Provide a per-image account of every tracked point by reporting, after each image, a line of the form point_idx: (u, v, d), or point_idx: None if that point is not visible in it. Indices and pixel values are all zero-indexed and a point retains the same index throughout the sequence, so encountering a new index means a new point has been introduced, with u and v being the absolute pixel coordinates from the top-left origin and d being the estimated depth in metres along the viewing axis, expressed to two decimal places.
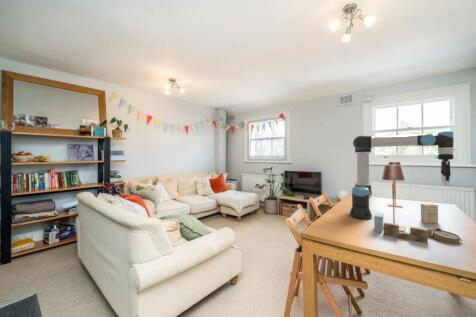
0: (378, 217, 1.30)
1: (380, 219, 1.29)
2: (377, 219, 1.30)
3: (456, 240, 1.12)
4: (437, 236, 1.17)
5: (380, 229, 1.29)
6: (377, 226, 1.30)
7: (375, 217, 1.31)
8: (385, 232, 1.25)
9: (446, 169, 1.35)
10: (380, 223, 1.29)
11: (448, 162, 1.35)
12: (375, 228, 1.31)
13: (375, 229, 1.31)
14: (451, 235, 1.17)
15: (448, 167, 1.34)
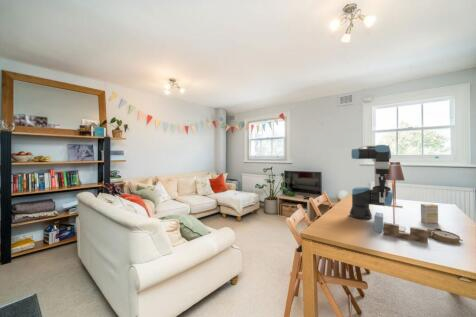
0: (378, 217, 1.30)
1: (380, 219, 1.29)
2: (377, 219, 1.30)
3: (456, 239, 1.12)
4: (436, 236, 1.17)
5: (380, 229, 1.29)
6: (377, 226, 1.30)
7: (375, 217, 1.31)
8: (385, 232, 1.25)
9: (380, 185, 1.27)
10: (380, 223, 1.29)
11: (383, 178, 1.28)
12: (375, 228, 1.31)
13: (375, 229, 1.31)
14: (451, 235, 1.17)
15: (382, 183, 1.27)
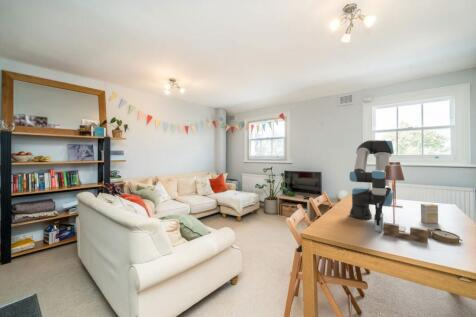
0: None
1: None
2: None
3: (456, 239, 1.12)
4: (436, 236, 1.17)
5: None
6: None
7: None
8: (385, 232, 1.25)
9: (376, 213, 1.28)
10: None
11: (379, 206, 1.28)
12: (375, 228, 1.31)
13: (375, 229, 1.31)
14: (451, 235, 1.17)
15: (378, 211, 1.28)
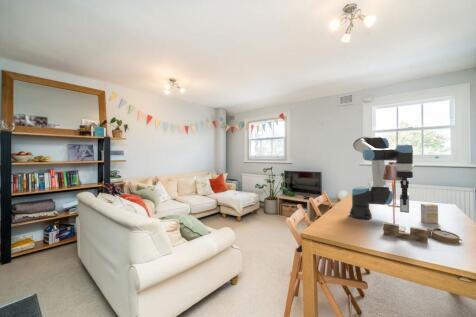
0: (404, 196, 1.16)
1: None
2: None
3: (455, 239, 1.12)
4: (436, 236, 1.17)
5: None
6: None
7: (401, 196, 1.17)
8: (385, 232, 1.25)
9: (403, 191, 1.14)
10: None
11: (405, 183, 1.14)
12: (401, 208, 1.17)
13: (401, 209, 1.17)
14: (450, 235, 1.17)
15: (405, 189, 1.14)
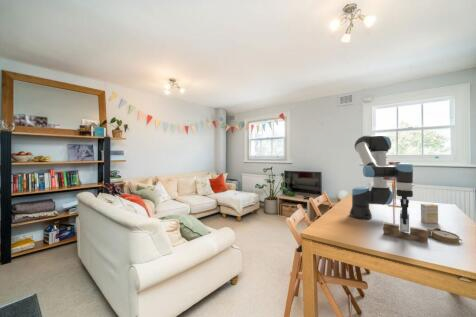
0: None
1: None
2: None
3: (455, 239, 1.12)
4: (436, 236, 1.17)
5: None
6: None
7: (401, 215, 1.17)
8: (385, 232, 1.25)
9: (403, 211, 1.14)
10: None
11: (405, 202, 1.14)
12: (401, 227, 1.17)
13: (401, 228, 1.17)
14: (450, 235, 1.17)
15: (405, 208, 1.14)
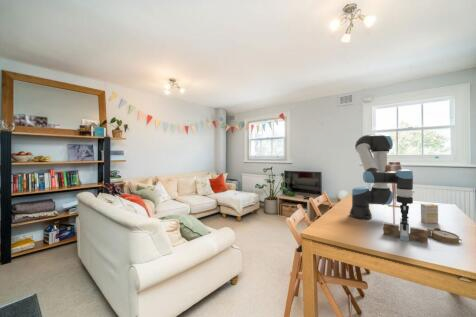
0: None
1: None
2: None
3: (455, 239, 1.12)
4: (436, 236, 1.17)
5: (407, 238, 1.16)
6: None
7: None
8: (385, 232, 1.25)
9: (403, 217, 1.14)
10: None
11: (405, 208, 1.14)
12: (401, 236, 1.17)
13: (401, 237, 1.17)
14: (450, 235, 1.17)
15: (405, 214, 1.14)
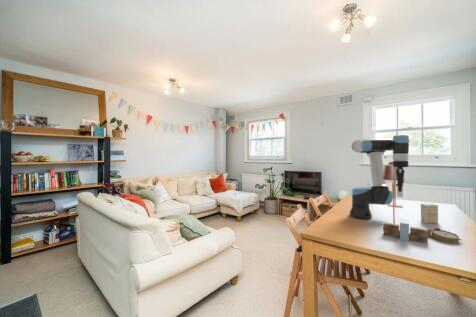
0: (404, 224, 1.16)
1: (407, 226, 1.16)
2: (403, 226, 1.17)
3: (455, 239, 1.12)
4: (436, 236, 1.17)
5: (407, 238, 1.16)
6: (403, 234, 1.17)
7: (401, 224, 1.17)
8: (385, 232, 1.25)
9: (398, 178, 1.19)
10: (407, 231, 1.16)
11: (401, 170, 1.19)
12: (401, 236, 1.17)
13: (401, 237, 1.17)
14: (450, 235, 1.17)
15: (401, 176, 1.18)
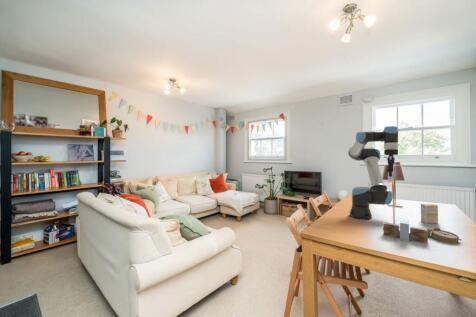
0: (404, 224, 1.16)
1: (407, 226, 1.16)
2: (403, 226, 1.17)
3: (455, 239, 1.12)
4: (436, 236, 1.18)
5: (407, 238, 1.16)
6: (403, 234, 1.17)
7: (401, 224, 1.17)
8: (385, 232, 1.25)
9: (389, 164, 1.32)
10: (407, 231, 1.16)
11: (391, 157, 1.32)
12: (401, 236, 1.17)
13: (401, 237, 1.17)
14: (450, 234, 1.17)
15: (391, 162, 1.31)
